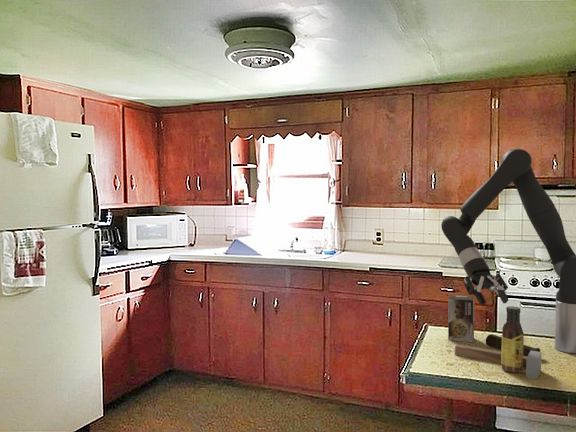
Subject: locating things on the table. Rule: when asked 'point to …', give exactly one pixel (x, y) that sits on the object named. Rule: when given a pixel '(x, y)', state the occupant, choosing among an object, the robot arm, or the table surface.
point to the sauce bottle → (512, 341)
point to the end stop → (533, 365)
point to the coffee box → (461, 318)
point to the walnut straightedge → (481, 354)
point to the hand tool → (497, 344)
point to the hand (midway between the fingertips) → (495, 303)
